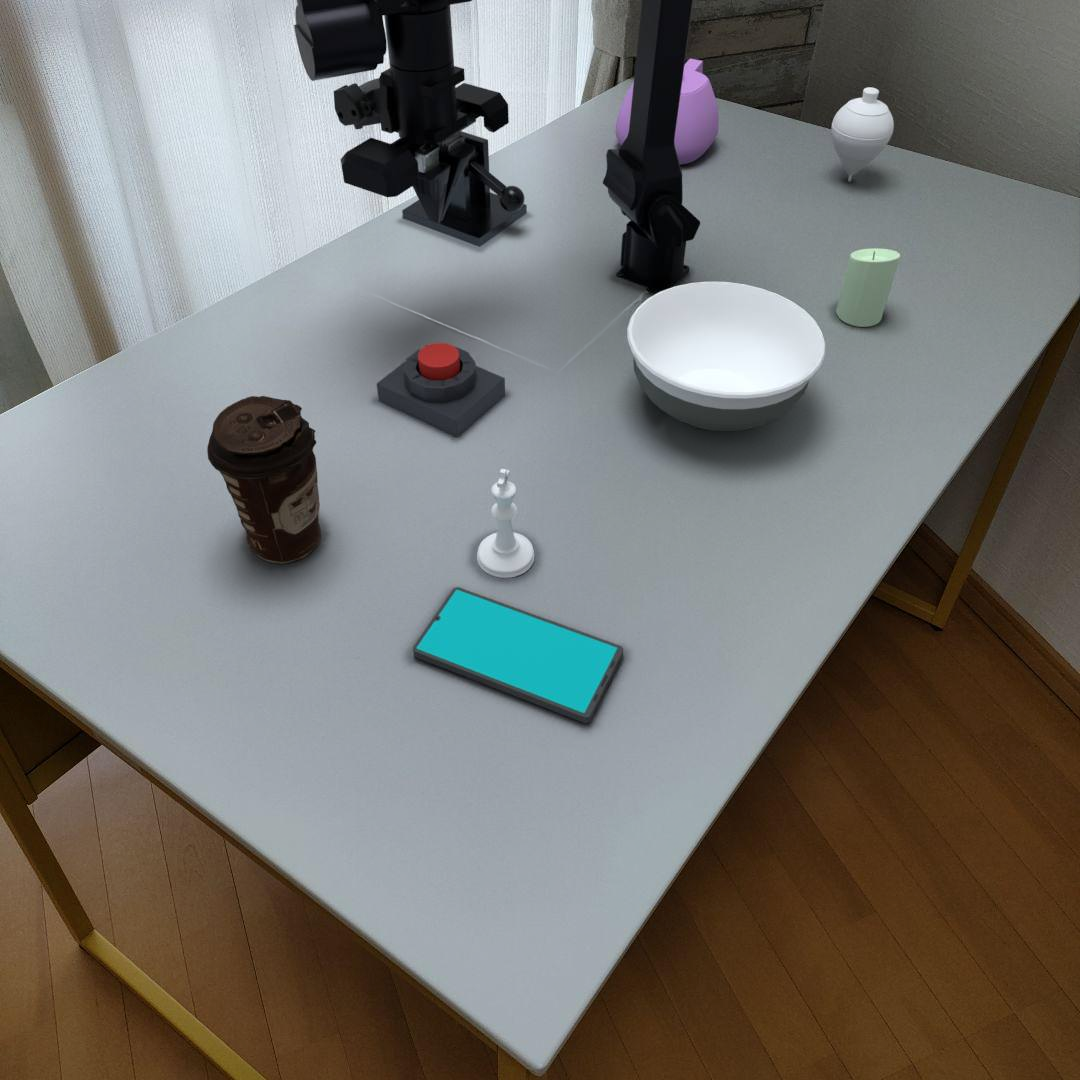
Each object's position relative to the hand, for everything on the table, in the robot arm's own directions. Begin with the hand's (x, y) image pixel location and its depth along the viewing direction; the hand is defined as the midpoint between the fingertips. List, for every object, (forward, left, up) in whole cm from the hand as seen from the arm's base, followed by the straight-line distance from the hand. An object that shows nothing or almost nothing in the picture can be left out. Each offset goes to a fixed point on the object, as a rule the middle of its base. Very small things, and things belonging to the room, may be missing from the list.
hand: (435, 220), depth 99 cm
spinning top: (-23, -57, -13) cm, 63 cm away
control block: (-7, +10, -13) cm, 18 cm away
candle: (-36, -28, -13) cm, 48 cm away
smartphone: (-32, +32, -13) cm, 47 cm away
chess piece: (-25, +24, -13) cm, 37 cm away
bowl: (-30, -5, -13) cm, 33 cm away
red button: (-7, +10, -9) cm, 15 cm away
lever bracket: (+13, -20, -13) cm, 27 cm away
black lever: (+10, -20, -8) cm, 24 cm away
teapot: (+2, -51, -13) cm, 53 cm away
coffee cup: (-8, +33, -13) cm, 36 cm away
